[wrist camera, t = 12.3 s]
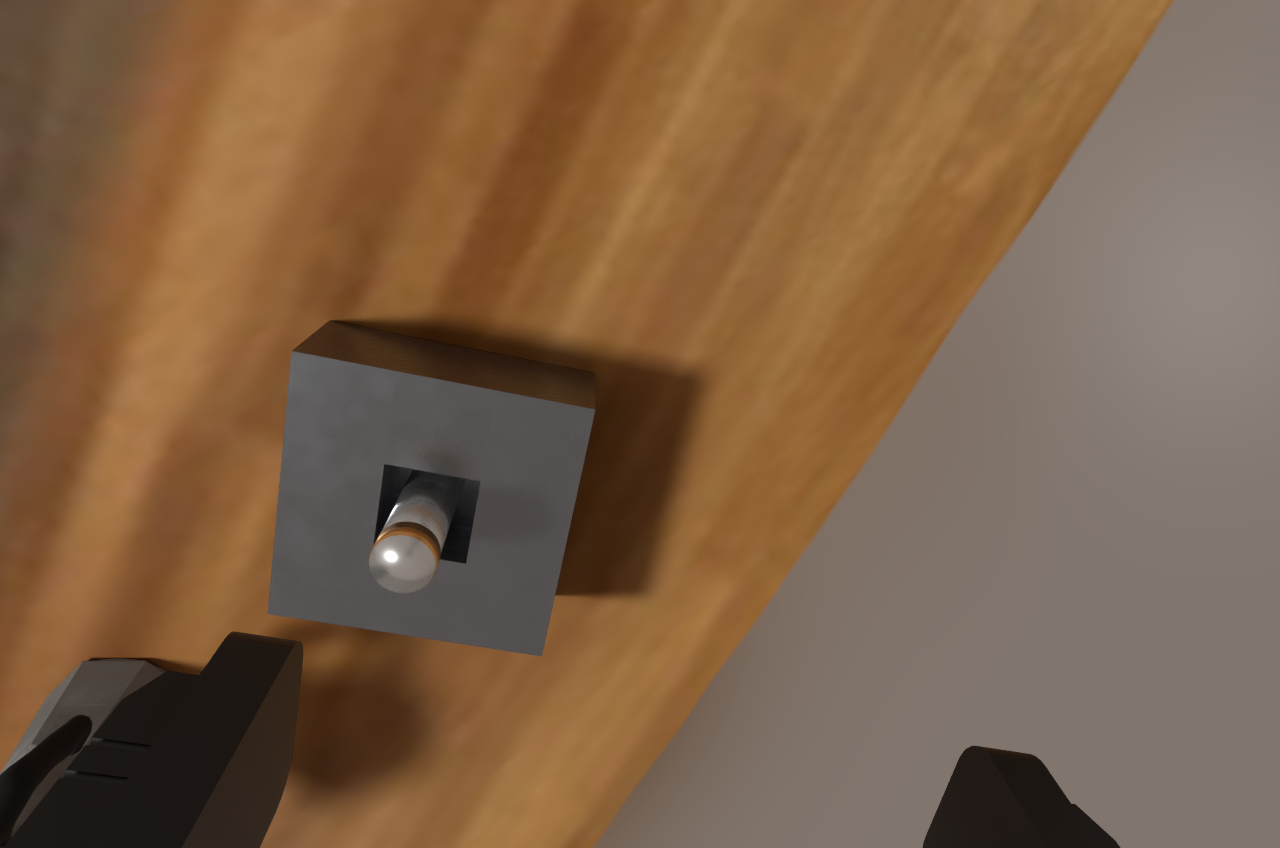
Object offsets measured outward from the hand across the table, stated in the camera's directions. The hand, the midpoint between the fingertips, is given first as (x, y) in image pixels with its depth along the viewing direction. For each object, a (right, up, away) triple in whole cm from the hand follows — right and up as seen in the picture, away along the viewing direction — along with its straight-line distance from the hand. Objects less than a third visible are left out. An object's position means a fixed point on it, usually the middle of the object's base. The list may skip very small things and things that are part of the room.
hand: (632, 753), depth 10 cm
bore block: (-11, +2, +37) cm, 39 cm away
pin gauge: (-11, +1, +36) cm, 38 cm away
